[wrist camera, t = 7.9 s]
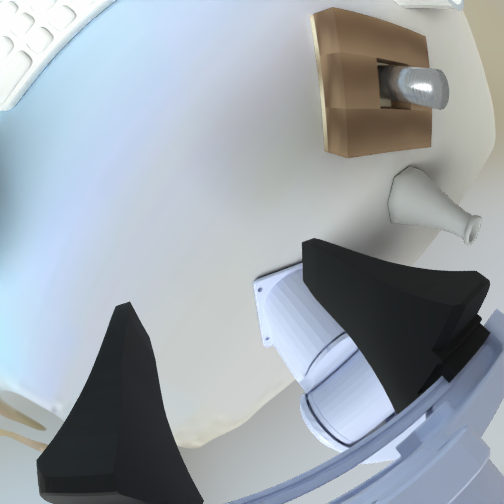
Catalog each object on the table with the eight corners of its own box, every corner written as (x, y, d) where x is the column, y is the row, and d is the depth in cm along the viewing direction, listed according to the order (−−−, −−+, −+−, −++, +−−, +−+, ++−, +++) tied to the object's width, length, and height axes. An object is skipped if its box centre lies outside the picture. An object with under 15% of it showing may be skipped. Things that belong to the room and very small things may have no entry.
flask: (387, 170, 25) (468, 205, 17) (424, 161, 27) (493, 190, 19) (383, 230, 29) (450, 274, 21) (419, 214, 31) (479, 249, 23)
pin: (384, 100, 20) (447, 113, 15) (361, 94, 19) (428, 104, 14) (386, 70, 19) (449, 76, 13) (363, 61, 18) (430, 63, 12)
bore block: (409, 140, 24) (431, 147, 22) (324, 151, 21) (347, 158, 19) (403, 37, 18) (425, 36, 15) (309, 15, 15) (332, 7, 12)
